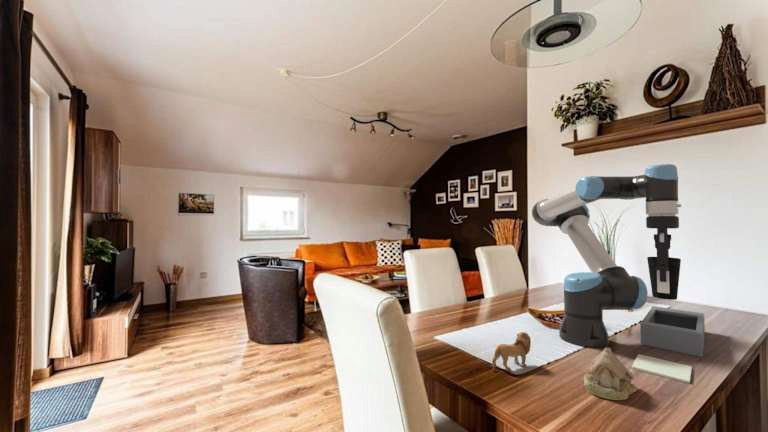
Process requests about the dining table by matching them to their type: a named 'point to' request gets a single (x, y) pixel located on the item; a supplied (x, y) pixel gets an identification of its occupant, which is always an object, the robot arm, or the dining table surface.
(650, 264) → the cup
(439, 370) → the dining table surface
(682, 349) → the slot box
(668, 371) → the mat
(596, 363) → the ceramic model
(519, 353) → the lion figurine
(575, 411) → the dining table surface
